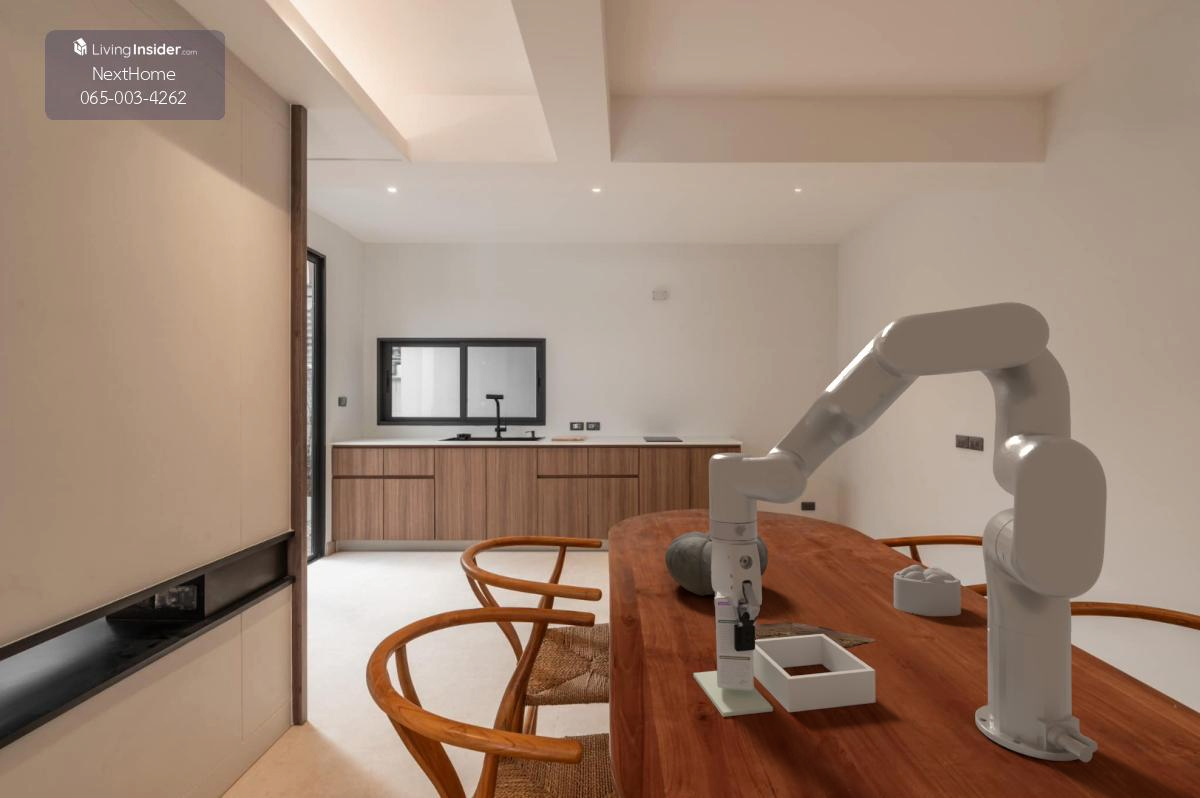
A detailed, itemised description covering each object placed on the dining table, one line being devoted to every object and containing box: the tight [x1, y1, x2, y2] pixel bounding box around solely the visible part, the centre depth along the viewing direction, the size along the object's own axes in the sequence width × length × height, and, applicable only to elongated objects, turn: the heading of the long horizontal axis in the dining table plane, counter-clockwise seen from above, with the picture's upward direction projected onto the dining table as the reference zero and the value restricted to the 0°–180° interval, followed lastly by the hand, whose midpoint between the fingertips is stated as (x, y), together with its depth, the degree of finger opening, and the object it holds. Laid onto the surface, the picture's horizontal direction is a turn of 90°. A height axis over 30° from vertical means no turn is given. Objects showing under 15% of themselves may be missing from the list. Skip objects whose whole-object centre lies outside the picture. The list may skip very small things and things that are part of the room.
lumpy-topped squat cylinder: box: [893, 564, 962, 617], centre depth 133 cm, size 10×13×9 cm
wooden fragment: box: [755, 621, 877, 649], centre depth 118 cm, size 26×11×1 cm, turn 72°
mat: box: [692, 670, 774, 718], centre depth 95 cm, size 13×8×1 cm, turn 11°
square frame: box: [753, 634, 876, 713], centre depth 98 cm, size 15×15×5 cm
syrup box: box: [714, 591, 755, 691], centre depth 95 cm, size 6×6×14 cm
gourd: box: [664, 530, 769, 596], centre depth 147 cm, size 25×25×17 cm
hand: (734, 639), depth 95 cm, fingers closed on syrup box, 7 cm apart
